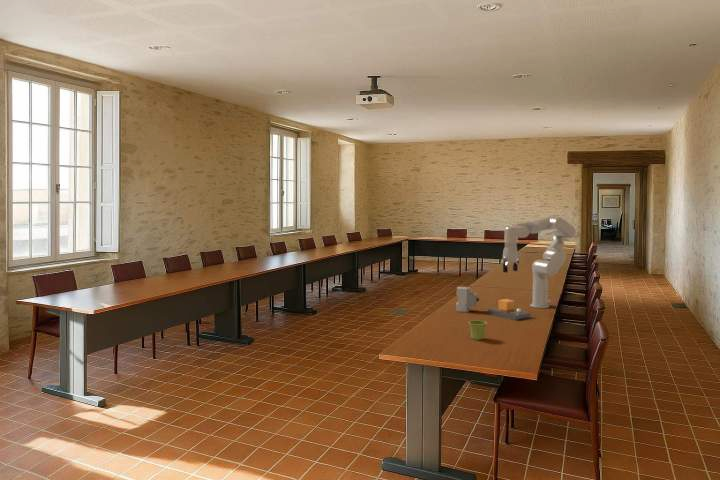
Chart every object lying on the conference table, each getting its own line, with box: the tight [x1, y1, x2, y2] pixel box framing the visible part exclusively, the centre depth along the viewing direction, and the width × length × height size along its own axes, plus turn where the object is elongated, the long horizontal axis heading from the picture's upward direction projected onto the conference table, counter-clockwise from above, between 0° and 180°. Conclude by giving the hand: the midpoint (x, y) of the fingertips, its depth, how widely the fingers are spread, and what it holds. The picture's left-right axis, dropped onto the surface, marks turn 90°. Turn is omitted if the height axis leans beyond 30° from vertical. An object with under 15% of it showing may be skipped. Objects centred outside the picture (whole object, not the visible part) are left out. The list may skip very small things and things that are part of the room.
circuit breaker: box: [455, 286, 480, 313], centre depth 354 cm, size 8×14×15 cm, turn 78°
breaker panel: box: [487, 306, 532, 321], centre depth 341 cm, size 14×22×3 cm, turn 34°
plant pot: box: [468, 320, 488, 341], centre depth 286 cm, size 9×9×9 cm
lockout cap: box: [497, 298, 516, 311], centre depth 347 cm, size 7×7×6 cm
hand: (510, 271), depth 358 cm, fingers open, 9 cm apart
